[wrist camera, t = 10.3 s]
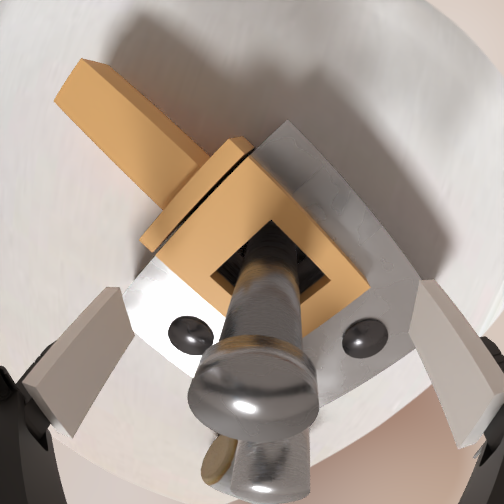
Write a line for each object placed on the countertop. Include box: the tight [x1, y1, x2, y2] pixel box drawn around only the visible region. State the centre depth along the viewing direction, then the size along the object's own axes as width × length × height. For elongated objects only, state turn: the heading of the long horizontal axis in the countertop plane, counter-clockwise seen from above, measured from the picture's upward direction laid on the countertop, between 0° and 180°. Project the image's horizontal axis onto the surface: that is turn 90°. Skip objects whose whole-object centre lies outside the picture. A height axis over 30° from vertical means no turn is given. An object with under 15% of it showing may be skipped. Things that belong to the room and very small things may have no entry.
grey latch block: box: [122, 119, 422, 504], centre depth 16 cm, size 16×16×12 cm
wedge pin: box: [188, 221, 319, 442], centre depth 14 cm, size 4×4×13 cm
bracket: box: [54, 58, 371, 338], centre depth 16 cm, size 20×7×5 cm, turn 45°
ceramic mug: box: [201, 435, 279, 504], centre depth 27 cm, size 11×8×8 cm
